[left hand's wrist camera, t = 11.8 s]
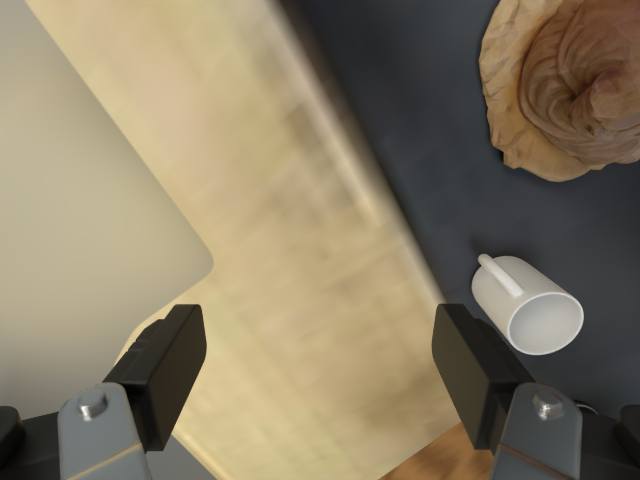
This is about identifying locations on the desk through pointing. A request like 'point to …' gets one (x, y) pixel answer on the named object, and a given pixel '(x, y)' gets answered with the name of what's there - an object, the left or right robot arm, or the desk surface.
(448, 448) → the bar
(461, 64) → the desk surface
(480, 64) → the sculpture
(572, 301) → the mug
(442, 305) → the left robot arm
